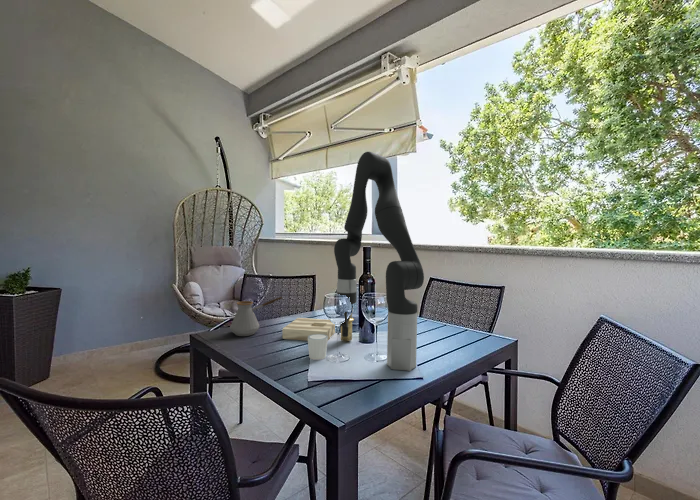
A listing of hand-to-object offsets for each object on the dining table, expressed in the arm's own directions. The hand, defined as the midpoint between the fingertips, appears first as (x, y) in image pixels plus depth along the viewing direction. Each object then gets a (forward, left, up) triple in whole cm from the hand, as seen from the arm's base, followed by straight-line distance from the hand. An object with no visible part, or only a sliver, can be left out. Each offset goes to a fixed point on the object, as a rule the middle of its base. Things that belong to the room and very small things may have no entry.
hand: (346, 334), depth 135 cm
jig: (+6, +16, -3) cm, 17 cm away
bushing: (0, 0, -2) cm, 2 cm away
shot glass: (-19, +6, -3) cm, 20 cm away
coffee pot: (+2, +38, -3) cm, 38 cm away
